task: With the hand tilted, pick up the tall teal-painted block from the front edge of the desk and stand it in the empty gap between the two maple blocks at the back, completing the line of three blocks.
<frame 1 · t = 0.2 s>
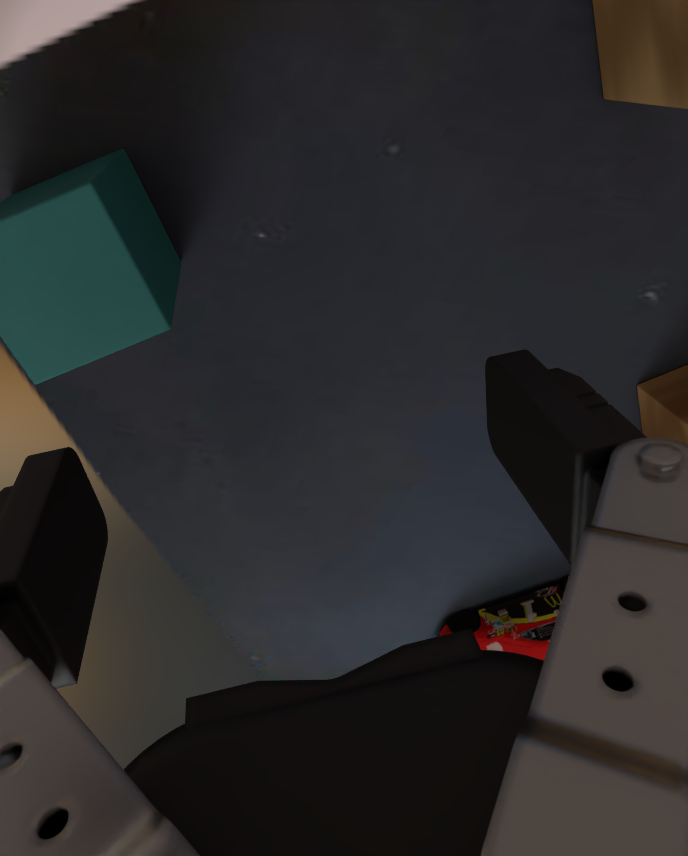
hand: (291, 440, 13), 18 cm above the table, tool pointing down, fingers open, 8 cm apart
race car: (523, 613, 44), on the table
teal block: (99, 230, 27), on the table
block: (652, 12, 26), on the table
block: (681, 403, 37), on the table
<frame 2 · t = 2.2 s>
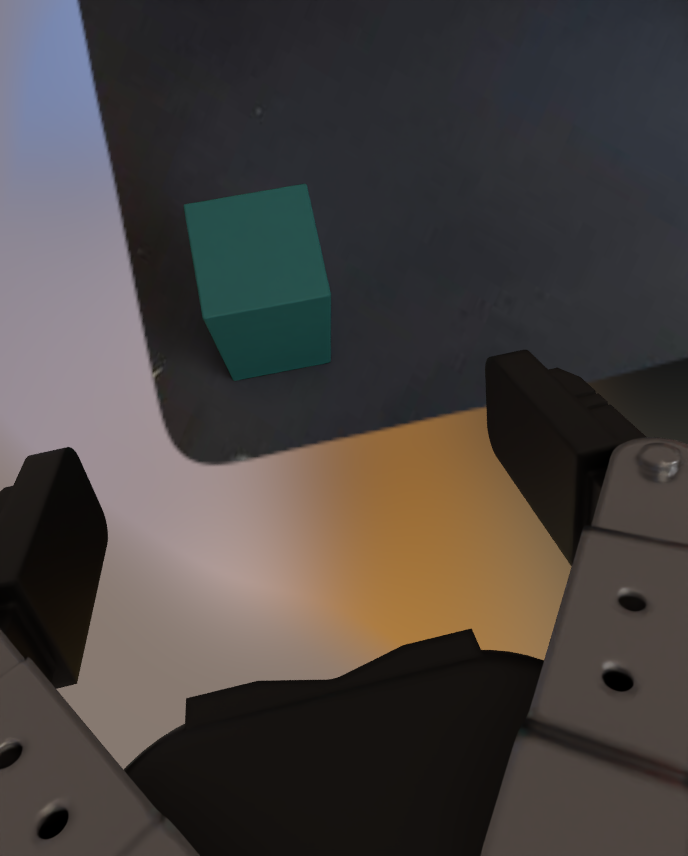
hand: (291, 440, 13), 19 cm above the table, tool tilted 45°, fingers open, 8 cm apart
teal block: (273, 326, 33), on the table
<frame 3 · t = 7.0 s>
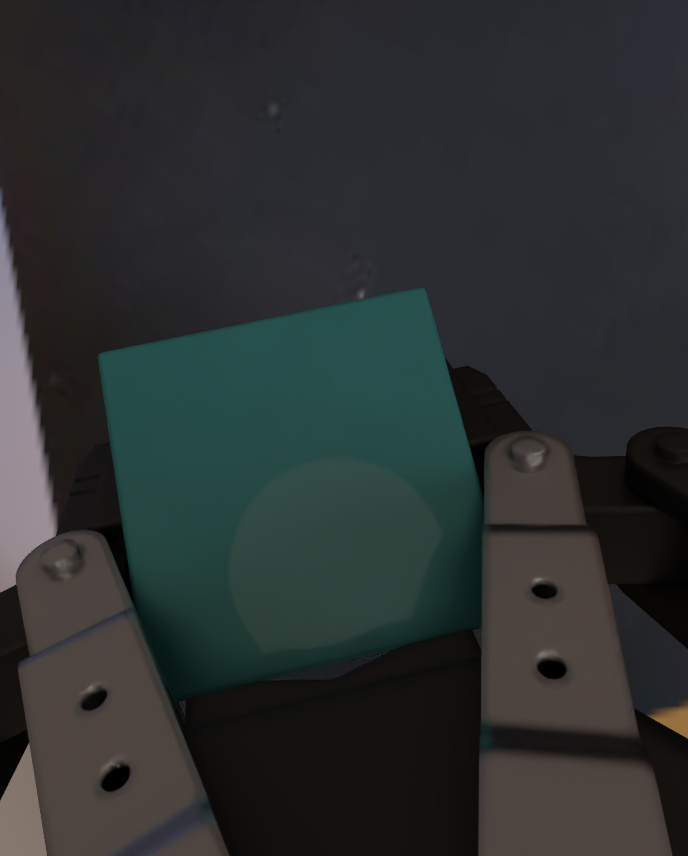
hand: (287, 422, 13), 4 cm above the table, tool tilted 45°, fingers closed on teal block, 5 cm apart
teal block: (314, 528, 17), on the table, touching gripper
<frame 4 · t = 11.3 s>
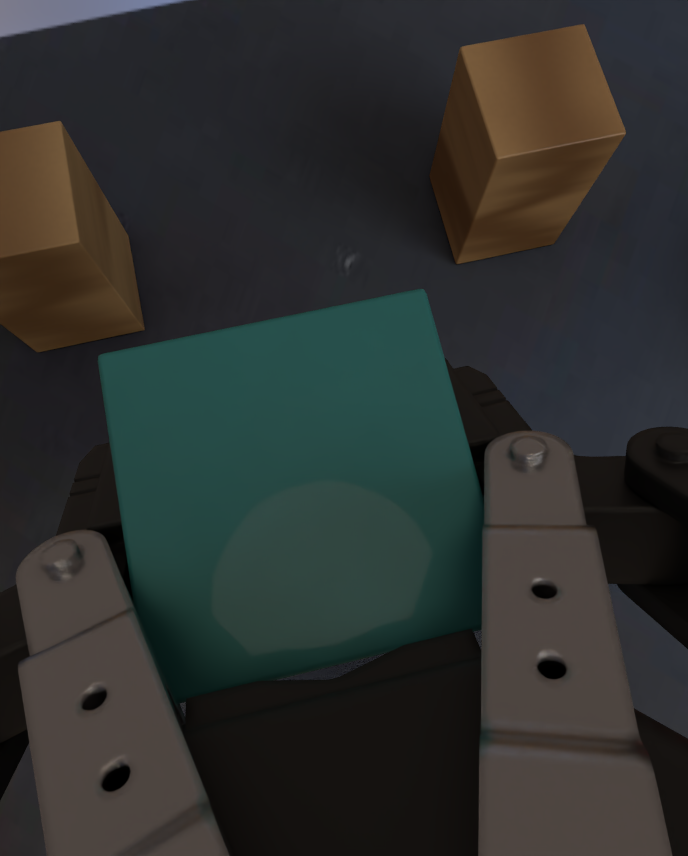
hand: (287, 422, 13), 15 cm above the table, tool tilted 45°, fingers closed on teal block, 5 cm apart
teal block: (314, 529, 17), point 11 cm above the table, touching gripper
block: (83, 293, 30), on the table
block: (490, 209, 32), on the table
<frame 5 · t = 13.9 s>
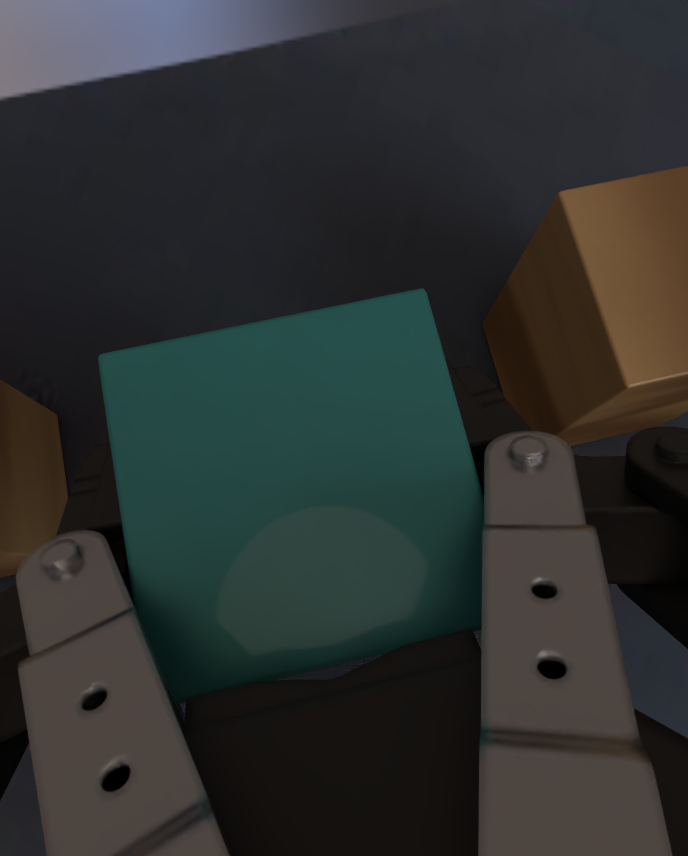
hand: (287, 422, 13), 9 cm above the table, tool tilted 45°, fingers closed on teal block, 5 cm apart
teal block: (314, 529, 17), point 4 cm above the table, touching gripper
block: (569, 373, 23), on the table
when the fingers open (4 cm above the table, at t = 15.8 s): teal block stays where it is, on the table.
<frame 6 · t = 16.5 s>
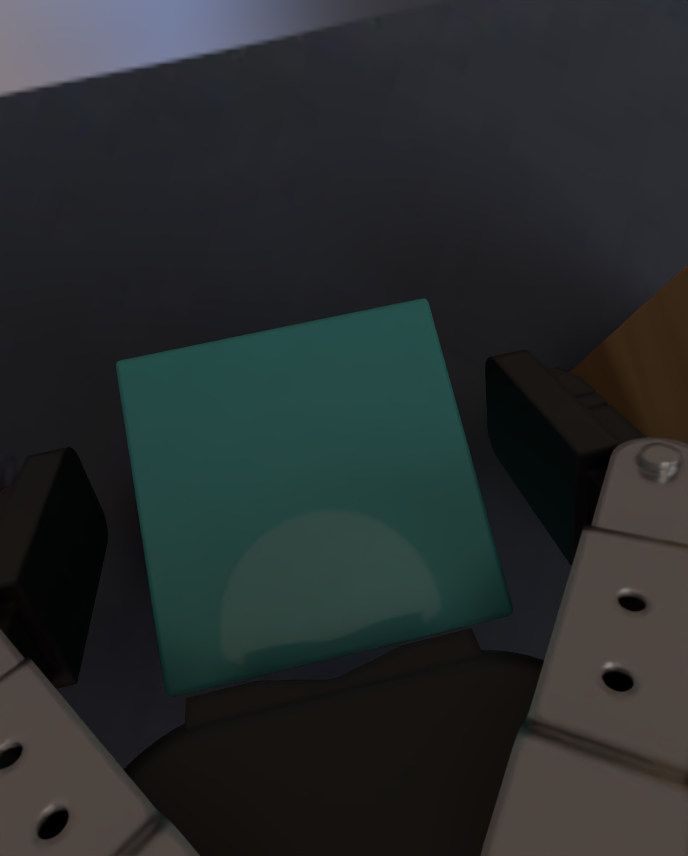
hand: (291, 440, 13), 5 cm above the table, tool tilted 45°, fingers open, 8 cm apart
teal block: (319, 527, 17), on the table
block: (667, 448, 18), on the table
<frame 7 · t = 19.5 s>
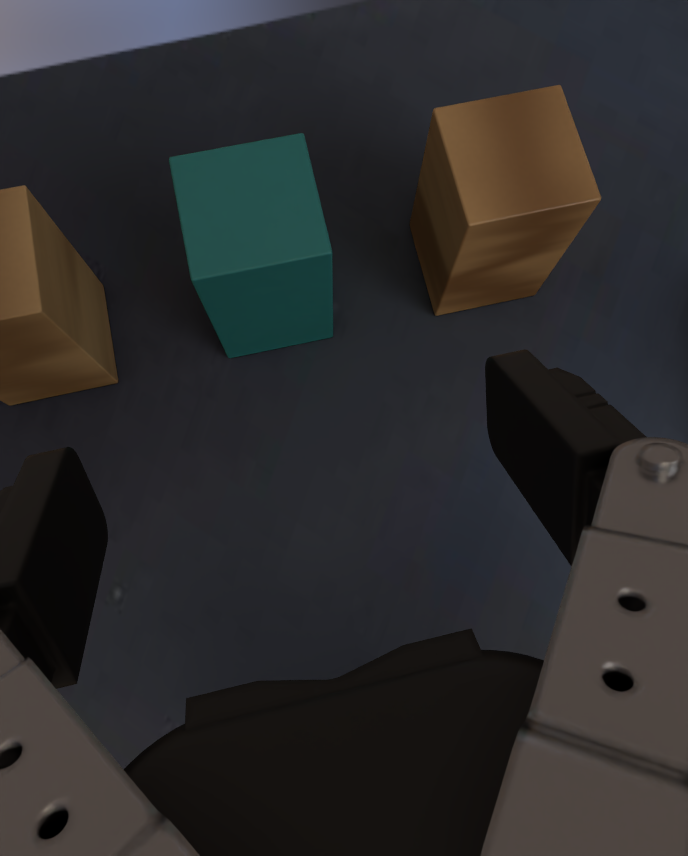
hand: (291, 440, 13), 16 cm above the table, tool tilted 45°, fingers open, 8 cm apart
teal block: (270, 299, 31), on the table
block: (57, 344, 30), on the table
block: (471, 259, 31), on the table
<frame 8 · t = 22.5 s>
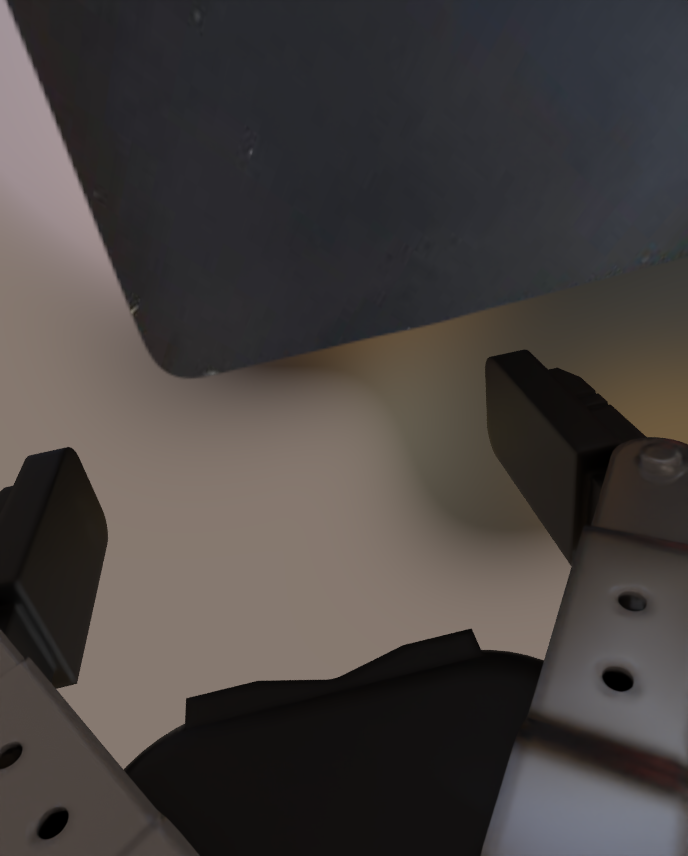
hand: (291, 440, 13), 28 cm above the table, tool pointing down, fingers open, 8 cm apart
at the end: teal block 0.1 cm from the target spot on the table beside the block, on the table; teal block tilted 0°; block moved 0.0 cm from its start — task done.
